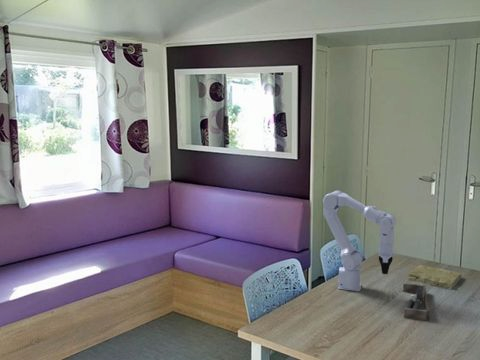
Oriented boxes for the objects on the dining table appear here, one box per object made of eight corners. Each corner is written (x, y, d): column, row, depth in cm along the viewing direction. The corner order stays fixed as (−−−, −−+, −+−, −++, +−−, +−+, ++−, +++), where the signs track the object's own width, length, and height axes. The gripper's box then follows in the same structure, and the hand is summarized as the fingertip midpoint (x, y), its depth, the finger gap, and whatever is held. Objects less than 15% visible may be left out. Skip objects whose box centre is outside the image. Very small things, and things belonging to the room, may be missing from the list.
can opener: (411, 298, 208) (412, 284, 207) (424, 300, 206) (424, 286, 204) (402, 315, 191) (403, 300, 190) (416, 318, 189) (417, 303, 188)
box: (404, 317, 190) (404, 308, 189) (403, 290, 216) (403, 282, 215) (428, 320, 187) (429, 311, 186) (424, 292, 213) (425, 285, 213)
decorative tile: (418, 270, 243) (419, 263, 243) (461, 279, 231) (462, 271, 231) (405, 281, 229) (406, 273, 228) (450, 291, 216) (451, 283, 216)
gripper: (396, 248, 200) (394, 280, 202) (396, 239, 214) (394, 268, 216) (378, 247, 202) (376, 278, 204) (379, 237, 216) (378, 267, 218)
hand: (384, 273), depth 210 cm, fingers closed
